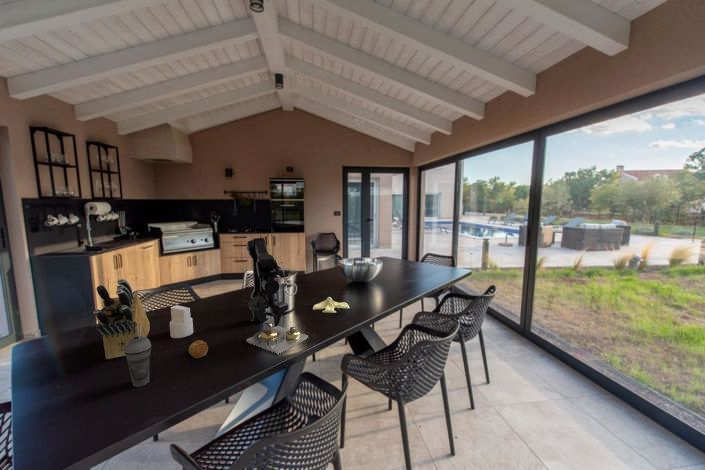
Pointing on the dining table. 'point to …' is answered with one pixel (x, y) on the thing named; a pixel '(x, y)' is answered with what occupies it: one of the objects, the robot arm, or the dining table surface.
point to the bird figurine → (330, 305)
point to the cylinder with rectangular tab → (180, 322)
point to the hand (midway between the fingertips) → (268, 324)
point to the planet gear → (268, 332)
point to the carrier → (279, 339)
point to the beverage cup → (139, 359)
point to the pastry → (198, 349)
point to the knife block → (120, 319)
